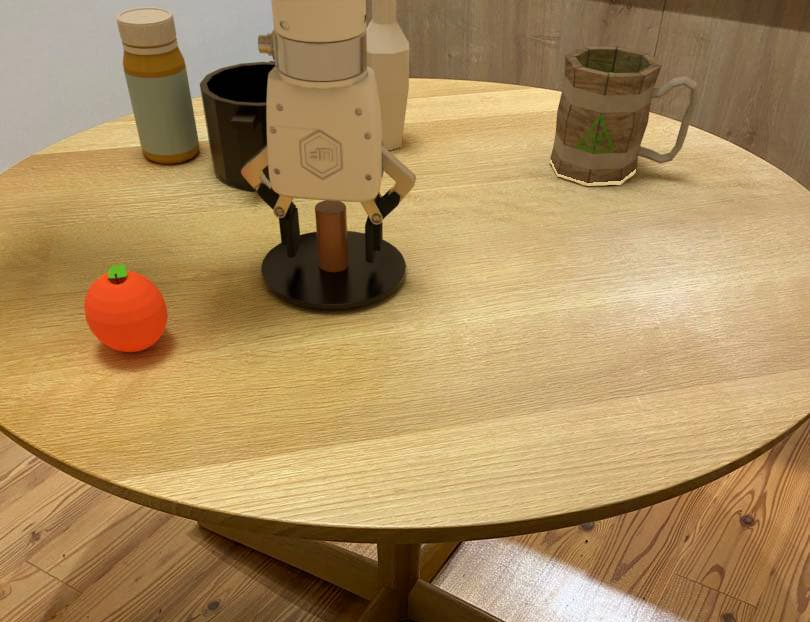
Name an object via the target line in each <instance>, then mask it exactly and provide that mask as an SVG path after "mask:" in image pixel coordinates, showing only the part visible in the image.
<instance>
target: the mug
mask: <svg viewBox="0 0 810 622" xmlns="http://www.w3.org/2000/svg"><path fill="white" fill-rule="evenodd" d="M661 70H662V65H661V64H660V63H659V62H658V61H657V60H656V59H655V57H653V56H652V54H650V53H649V52H644V51H640V50H636V49H632V48H628V47H624V46H621V45H598V46H597V45H596V46H594V45H593V46H591V45H590V46H582V47H579V48H577V49H576V50H574V51H572V52H570V53H567V54H566V55H565V57H564V75H563V76H564V77H563V81H562V82H563V83H562V89H561V94H560V99H559V103H558V106H557V111H556V122H555V134H554V141H553V147H552V150H551V154H550V157H549V160H550V159H551V160H552V163H553V164H554V167H555V169H556V171H557V173H558V174H561V175H564V176H567V177H571V178H573V179H576V180H580V181H584V182H586V183H593V182H608V181H621V180H623V179H624V178H625V177H626V176H628V175H629V174H630V173H631V172H633V171H634V170H635V169H636V170H637V169H638V160H639V157H642V158H644V159H647V160H650V161H653V162H654V163H657V164H665V163H669V162H672V161H673V160H674V158H675V157H676V156H677V155H678V154H679V153H680V151H681V150H682V148H683V145H684V143H685V140H686V137H687V134H688V131H689V127H690V124H691V120H692V117H693V115H694V112H695V109H696V107H697V104H698V102H699V95H698V93H699V92H698V83H697V82H696V81H694V80H693V79H691V78H690V77H689V76H687V75H682V76H678V77H673V78H672V79H671V80H669V81H667V82H666V83H665V84H664V85H662V86H661V87H656V86H655V85H656V83H657V81H658V77H659V75H660V72H661ZM680 86H684V87H686V88H688V89H690V95H689V96H690V97H689V103H688V104H687V108H686V110H685V112H684V115H683V117H682V119H681V123H680V126H679V129H678V133H677V134H678V135H677V136H676V140H675V145H674V146H673V147H672V149H671V150H670V151H669V152H666V153H662V154H661V153H659V152H657V151H655V150H653V149H651V148H647V147H644V146H642V142H643V139H644V135H645V133H646V130H647V127H648V123H649V118H650V110H651V103H652V100H653V99H660V98H662V97H664V96H666V95H668V93H669V92H671V91H672V90H674V89H675V88H677V87H680Z"/></svg>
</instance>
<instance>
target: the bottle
mask: <svg viewBox="0 0 810 622" xmlns="http://www.w3.org/2000/svg"><path fill="white" fill-rule="evenodd" d="M116 23H117V28H118V33H119V37H120V39H121V45H122V49H123V56H122V67H123V72H124V77H125V82H126V86H127V90H128V94H129V99H130V103H131V104H130V105H131V108H132V113H133V117H134V121H135V125H136V130H137V135H138V139H139V143H140V147H141V150H142V151H141V152H142V154H143V155H144V156H145V157H146V158H147V159H149V160H150V161H152V162H153V161H154V163H157V164H164V165H174V163H175V164H180V163H184V162H187V160H188V161H189V159H190V160H191V159H193V158H194V157H195V156H196V155H197V153H198V152H199V150H200V141H199V140H200V139H199V135H198V130H197V123H196V117H195V111H194V106H193V100H192V95H191V89H190V82H189V76H188V72H187V66H186V61H185V57H184V55H183V54H182V52H181V50H180V47H179V44H178V38H177V31H176V30H177V29H176V24H175V19H174V14H173V12H172V11H170V10H169V9H166V8H161V7H153V6H151V7H150V6H145V7H133V8H129V9H125V10H122V11H121V12H119V13H118V14H117V15H116Z"/></svg>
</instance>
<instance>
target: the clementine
mask: <svg viewBox="0 0 810 622" xmlns="http://www.w3.org/2000/svg"><path fill="white" fill-rule="evenodd" d="M83 310H84V315H85V316H84V317H85V320H86V321H85V322H86V324H87V326H88V328H89V330H90V332H91V333H92V334H93V335H94V336H95V338H97V339H98V341H99V342H100V343H102V344H104V345H105V346H107V347H108V348H110V349H112V350H115V351H118V352H124V353H136V352H142V351H144V350H146V349H149V347H151V346H153V345H155V344H156V343H157V342H158V341H159V340H160V338H161V336H162V335H163V334H164V332H165V331H166V326H167V321H168V307H167V304H166V300H165V298H164V296H163V293H162V292H161V290H160V289H159V288H158V287H157V285H156V284H155V283H154V282H153V281H152V280H151V279H148V278H147V277H146V276H145V275H143V274H142V273H138V272H134V271H132V270H127V267H126V265H125V264H113V265H112V266H110V267H109V269H108V272H106V273H104V274H102V275H101V276H99V277H98V278H97V279H96V280H94V281H93V282H92V283H91V284H90V286H89V288H88V290H87V292H86V294H85V298H84V303H83Z"/></svg>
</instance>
